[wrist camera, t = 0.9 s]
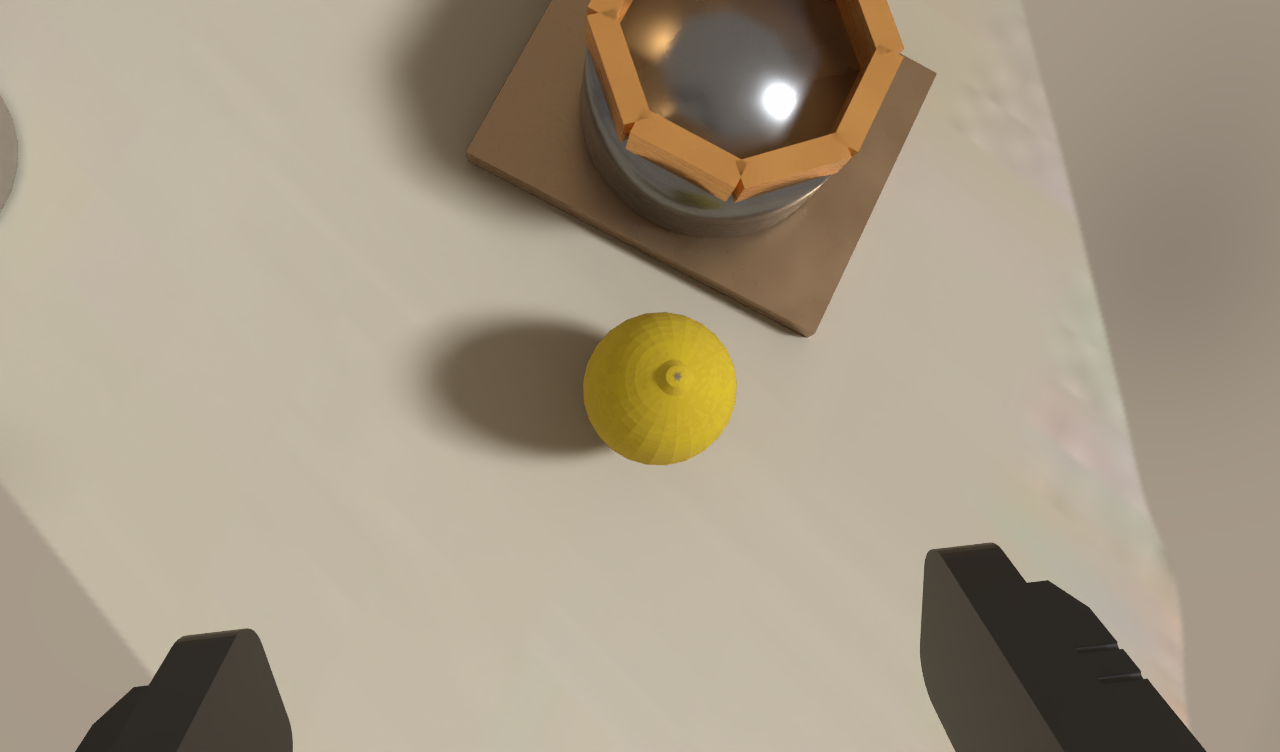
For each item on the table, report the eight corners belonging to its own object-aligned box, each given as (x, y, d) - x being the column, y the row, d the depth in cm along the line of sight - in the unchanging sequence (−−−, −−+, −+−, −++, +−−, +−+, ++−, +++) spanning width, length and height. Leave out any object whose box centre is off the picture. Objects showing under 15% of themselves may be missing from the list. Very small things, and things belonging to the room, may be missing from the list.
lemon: (668, 491, 35) (708, 495, 28) (552, 421, 35) (557, 404, 27) (735, 376, 36) (791, 348, 28) (621, 307, 36) (646, 259, 28)
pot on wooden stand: (468, 160, 36) (451, 77, 29) (608, -90, 38) (626, -227, 31) (807, 337, 37) (875, 301, 30) (926, 83, 39) (1018, -10, 32)
